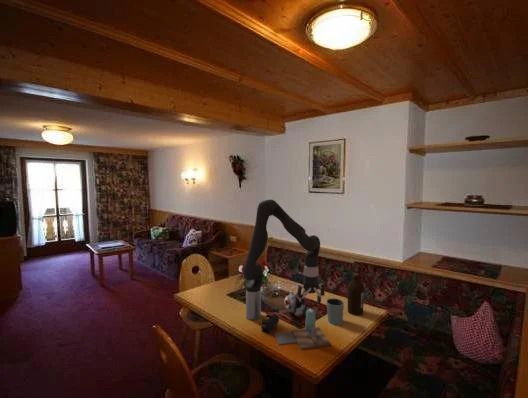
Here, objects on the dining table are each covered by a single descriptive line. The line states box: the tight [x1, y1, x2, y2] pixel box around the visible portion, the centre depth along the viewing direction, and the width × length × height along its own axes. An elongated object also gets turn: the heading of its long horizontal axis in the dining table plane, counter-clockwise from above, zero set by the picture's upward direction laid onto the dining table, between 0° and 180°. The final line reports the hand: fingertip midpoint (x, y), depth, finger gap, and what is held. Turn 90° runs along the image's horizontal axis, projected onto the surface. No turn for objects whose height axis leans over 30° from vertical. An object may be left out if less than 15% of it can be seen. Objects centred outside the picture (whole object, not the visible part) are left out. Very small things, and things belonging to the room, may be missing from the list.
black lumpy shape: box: [260, 313, 280, 334], centre depth 160 cm, size 10×7×7 cm
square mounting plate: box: [291, 318, 332, 350], centre depth 150 cm, size 16×16×8 cm
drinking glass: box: [325, 297, 345, 326], centre depth 169 cm, size 10×10×12 cm
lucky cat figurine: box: [283, 291, 308, 318], centre depth 179 cm, size 15×12×14 cm
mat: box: [273, 330, 298, 346], centre depth 151 cm, size 10×10×1 cm
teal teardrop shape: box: [305, 308, 316, 332], centre depth 149 cm, size 9×5×11 cm, turn 11°
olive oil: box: [346, 272, 366, 316], centre depth 179 cm, size 11×11×25 cm
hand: (310, 303), depth 149 cm, fingers open, 8 cm apart
